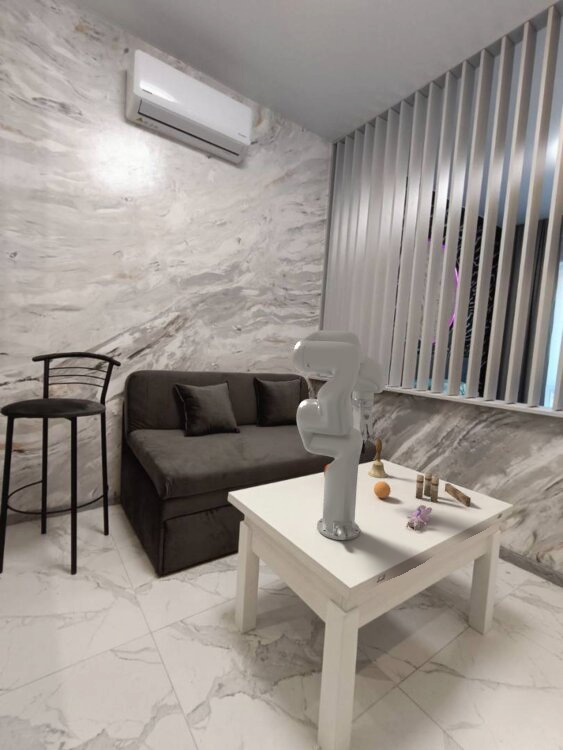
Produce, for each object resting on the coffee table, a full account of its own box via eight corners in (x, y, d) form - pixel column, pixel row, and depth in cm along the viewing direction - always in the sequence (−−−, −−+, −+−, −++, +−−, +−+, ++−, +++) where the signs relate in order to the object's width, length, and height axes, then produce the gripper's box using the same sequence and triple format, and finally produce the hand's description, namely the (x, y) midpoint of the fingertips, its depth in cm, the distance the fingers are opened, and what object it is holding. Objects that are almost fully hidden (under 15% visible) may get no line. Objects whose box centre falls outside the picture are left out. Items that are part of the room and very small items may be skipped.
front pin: (423, 499, 132) (425, 477, 131) (417, 499, 132) (418, 477, 131) (420, 496, 134) (422, 474, 134) (414, 496, 134) (415, 474, 134)
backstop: (470, 506, 128) (470, 498, 127) (466, 506, 127) (466, 498, 127) (448, 490, 141) (449, 483, 141) (444, 490, 141) (445, 483, 141)
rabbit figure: (420, 538, 106) (437, 514, 117) (421, 520, 105) (438, 498, 116) (400, 530, 110) (418, 508, 121) (400, 513, 109) (418, 492, 120)
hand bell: (378, 479, 151) (380, 442, 150) (364, 473, 158) (366, 438, 157) (391, 476, 155) (393, 440, 154) (377, 470, 162) (379, 436, 161)
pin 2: (438, 502, 130) (440, 479, 129) (432, 502, 130) (434, 479, 129) (435, 499, 132) (436, 477, 132) (428, 499, 132) (430, 477, 132)
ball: (392, 501, 129) (393, 485, 129) (376, 500, 129) (377, 484, 128) (386, 494, 135) (387, 479, 135) (371, 494, 134) (372, 478, 134)
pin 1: (431, 496, 135) (433, 474, 134) (425, 496, 135) (427, 474, 134) (428, 493, 137) (430, 472, 137) (422, 493, 137) (424, 472, 137)
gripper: (380, 407, 121) (376, 459, 123) (365, 400, 136) (363, 447, 138) (358, 406, 121) (355, 459, 122) (346, 400, 136) (344, 447, 137)
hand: (359, 452), depth 130 cm, fingers closed
